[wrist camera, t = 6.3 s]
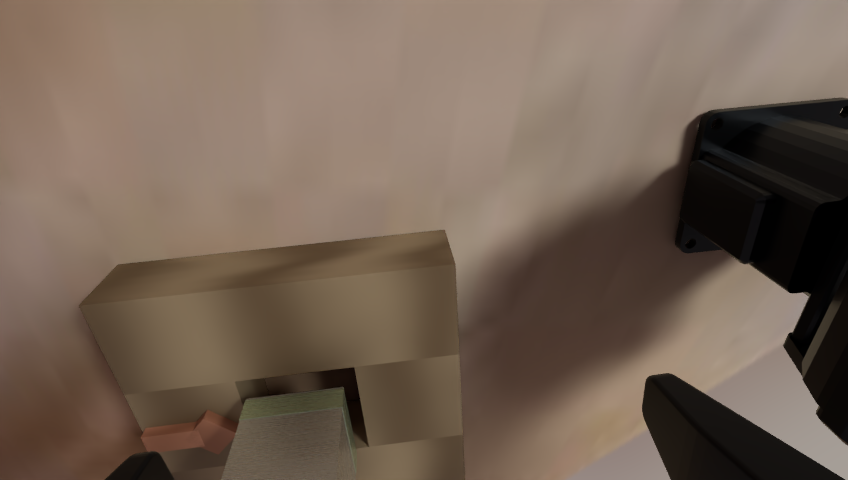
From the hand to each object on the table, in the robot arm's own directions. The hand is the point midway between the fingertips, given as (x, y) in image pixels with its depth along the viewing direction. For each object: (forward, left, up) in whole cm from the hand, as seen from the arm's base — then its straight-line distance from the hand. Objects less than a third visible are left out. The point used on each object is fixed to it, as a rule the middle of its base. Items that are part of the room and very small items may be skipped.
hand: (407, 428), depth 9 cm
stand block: (+5, +9, -12) cm, 16 cm away
